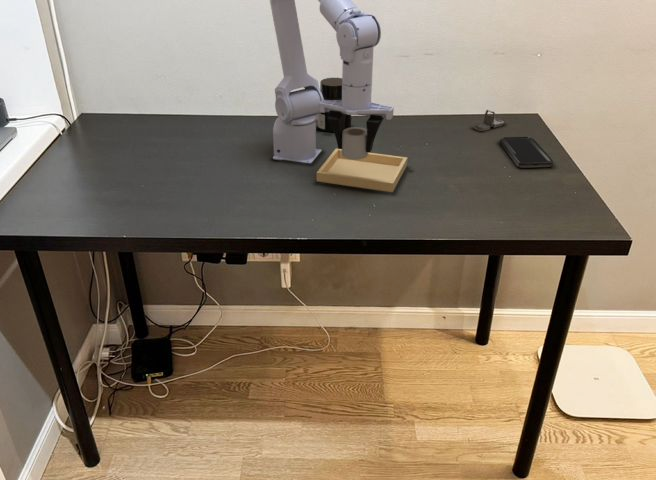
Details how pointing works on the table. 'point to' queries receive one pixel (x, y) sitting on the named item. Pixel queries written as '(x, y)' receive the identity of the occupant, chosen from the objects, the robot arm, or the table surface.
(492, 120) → the strap clip
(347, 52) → the robot arm
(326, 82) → the ink bottle
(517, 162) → the phone
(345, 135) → the tape roll
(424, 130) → the table surface
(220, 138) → the table surface
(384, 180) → the tray
